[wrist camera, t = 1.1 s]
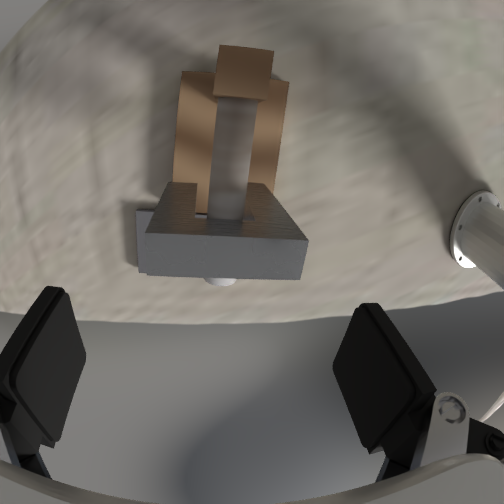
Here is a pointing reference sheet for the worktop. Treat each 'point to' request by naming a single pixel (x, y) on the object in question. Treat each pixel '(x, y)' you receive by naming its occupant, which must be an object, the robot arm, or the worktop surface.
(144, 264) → the rubber mat
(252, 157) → the hook stand
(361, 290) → the worktop surface
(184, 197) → the grey u-shaped bracket
